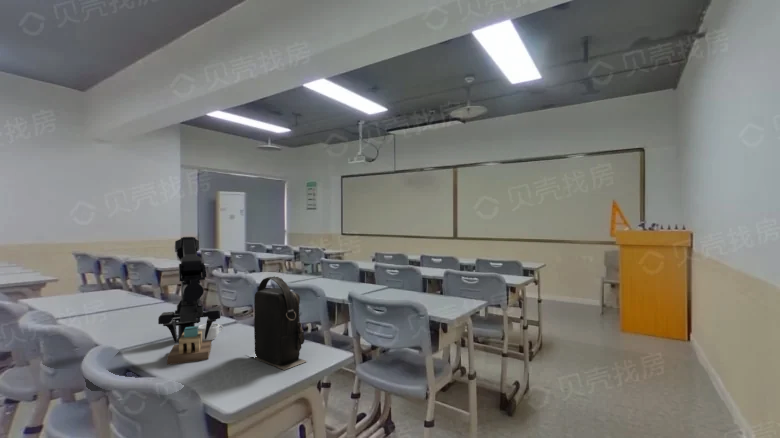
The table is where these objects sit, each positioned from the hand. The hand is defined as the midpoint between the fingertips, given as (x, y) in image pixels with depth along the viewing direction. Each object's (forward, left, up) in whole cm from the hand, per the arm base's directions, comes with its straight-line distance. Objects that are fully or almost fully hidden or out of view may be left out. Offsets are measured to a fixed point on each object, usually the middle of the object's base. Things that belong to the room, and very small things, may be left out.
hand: (190, 340), depth 126 cm
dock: (0, 0, -5) cm, 5 cm away
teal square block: (0, 0, +2) cm, 2 cm away
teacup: (-18, +5, -6) cm, 20 cm away
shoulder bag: (+15, +27, -6) cm, 31 cm away
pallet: (0, 0, -3) cm, 3 cm away
